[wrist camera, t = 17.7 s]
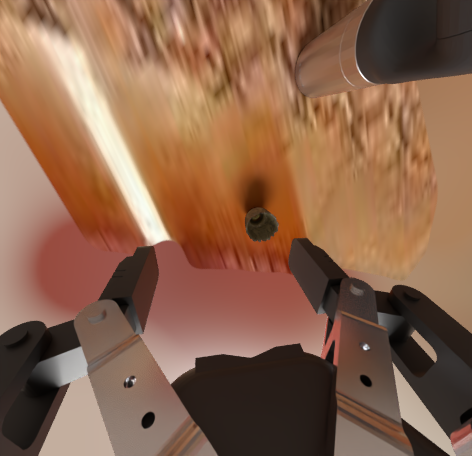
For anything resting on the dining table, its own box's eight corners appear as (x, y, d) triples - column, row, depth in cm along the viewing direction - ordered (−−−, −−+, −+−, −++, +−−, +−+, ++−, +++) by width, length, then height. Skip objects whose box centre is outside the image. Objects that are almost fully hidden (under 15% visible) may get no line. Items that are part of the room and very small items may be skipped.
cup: (235, 208, 50) (241, 222, 43) (262, 195, 49) (272, 207, 42) (247, 230, 53) (254, 247, 46) (271, 218, 53) (282, 233, 46)
